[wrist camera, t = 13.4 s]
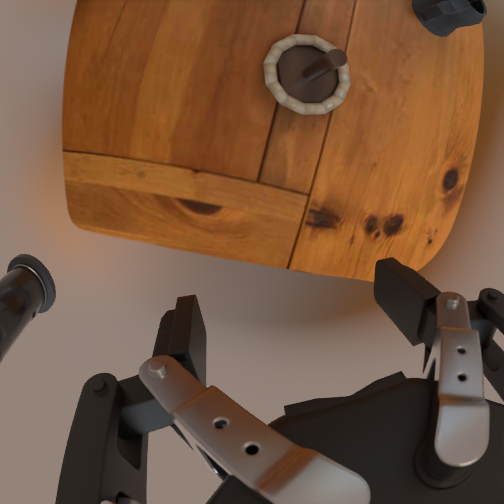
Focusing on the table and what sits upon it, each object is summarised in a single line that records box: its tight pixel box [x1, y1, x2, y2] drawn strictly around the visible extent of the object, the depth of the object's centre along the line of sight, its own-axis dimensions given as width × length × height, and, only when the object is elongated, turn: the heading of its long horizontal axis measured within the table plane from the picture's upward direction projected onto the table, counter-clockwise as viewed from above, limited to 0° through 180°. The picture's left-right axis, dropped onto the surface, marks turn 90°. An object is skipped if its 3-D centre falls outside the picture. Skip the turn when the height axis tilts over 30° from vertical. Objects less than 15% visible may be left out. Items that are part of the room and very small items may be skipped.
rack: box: [276, 46, 347, 103], centre depth 26 cm, size 8×8×10 cm
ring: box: [263, 34, 351, 115], centre depth 29 cm, size 11×11×2 cm
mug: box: [412, 0, 487, 37], centre depth 21 cm, size 12×9×11 cm
